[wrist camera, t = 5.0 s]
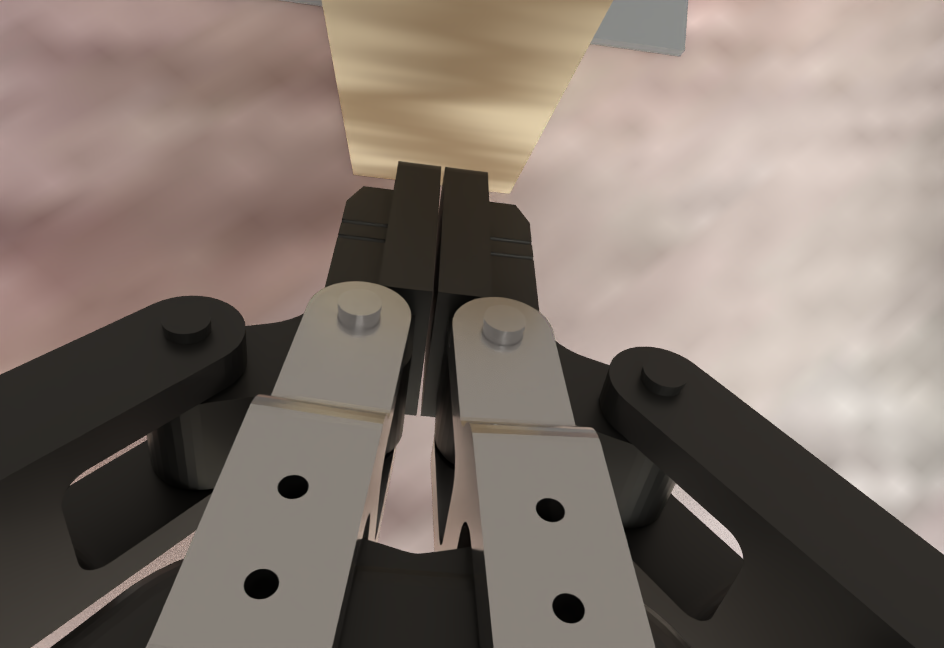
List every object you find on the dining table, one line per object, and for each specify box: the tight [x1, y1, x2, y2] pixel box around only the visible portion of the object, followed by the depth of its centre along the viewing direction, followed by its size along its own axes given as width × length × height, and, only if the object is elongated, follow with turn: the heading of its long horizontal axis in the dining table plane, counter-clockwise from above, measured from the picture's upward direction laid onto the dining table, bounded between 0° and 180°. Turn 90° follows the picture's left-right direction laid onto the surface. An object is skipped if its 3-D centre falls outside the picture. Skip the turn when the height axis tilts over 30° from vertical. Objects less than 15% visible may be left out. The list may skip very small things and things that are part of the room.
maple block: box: [322, 0, 613, 194], centre depth 17 cm, size 4×4×12 cm
